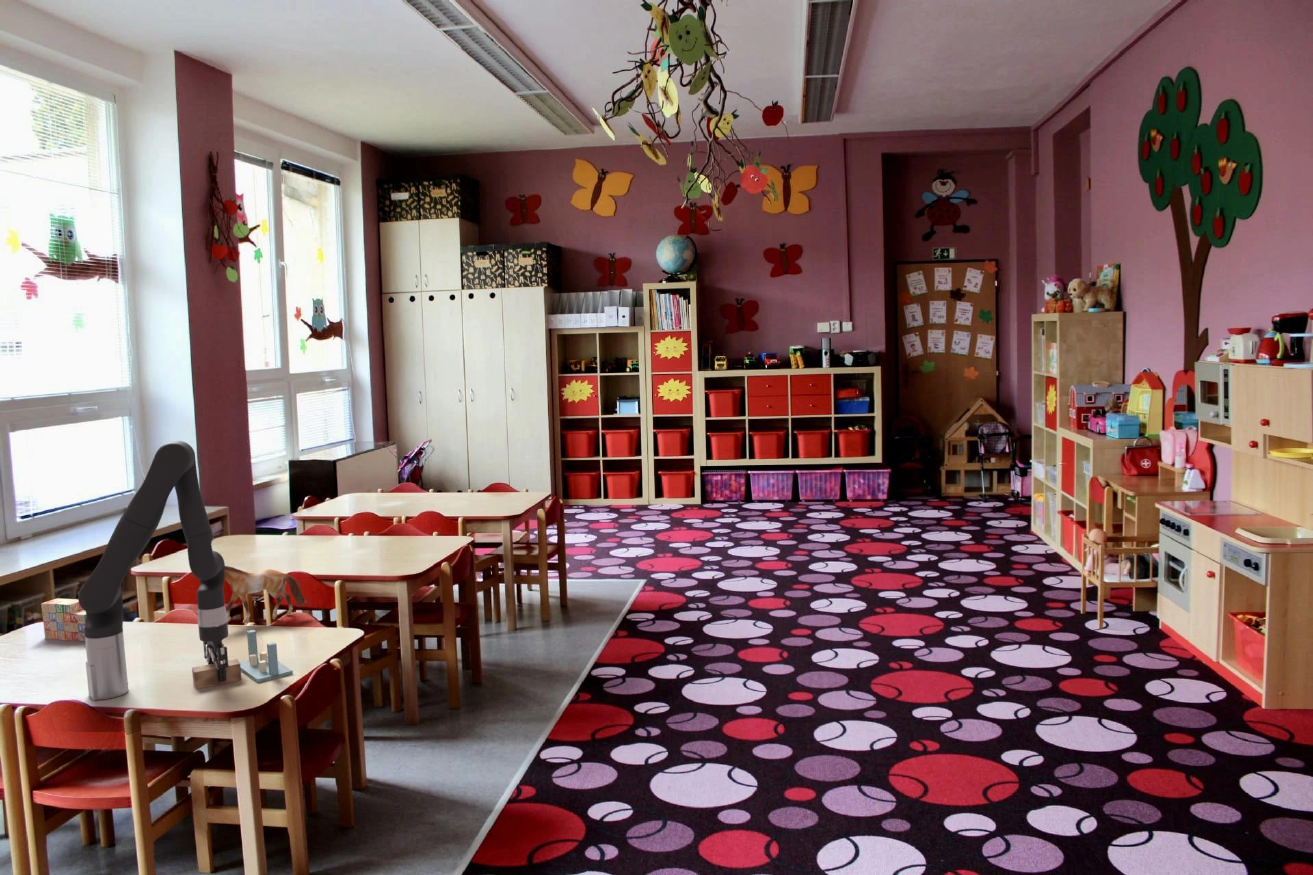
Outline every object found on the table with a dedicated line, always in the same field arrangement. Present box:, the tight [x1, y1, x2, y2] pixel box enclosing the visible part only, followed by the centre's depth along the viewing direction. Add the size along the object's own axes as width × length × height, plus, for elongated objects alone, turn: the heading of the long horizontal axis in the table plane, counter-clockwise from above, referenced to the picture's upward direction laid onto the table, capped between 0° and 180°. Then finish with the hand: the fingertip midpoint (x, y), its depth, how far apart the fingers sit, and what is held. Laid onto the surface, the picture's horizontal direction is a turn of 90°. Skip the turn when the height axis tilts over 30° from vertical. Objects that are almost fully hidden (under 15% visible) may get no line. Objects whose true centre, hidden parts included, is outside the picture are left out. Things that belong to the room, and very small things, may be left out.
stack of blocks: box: [40, 598, 86, 642], centre depth 325 cm, size 21×6×12 cm, turn 72°
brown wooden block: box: [191, 658, 242, 690], centre depth 278 cm, size 12×5×5 cm, turn 122°
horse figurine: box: [224, 565, 308, 624], centre depth 339 cm, size 31×8×21 cm, turn 104°
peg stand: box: [239, 629, 294, 683], centre depth 286 cm, size 10×19×10 cm, turn 41°
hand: (217, 677), depth 278 cm, fingers open, 7 cm apart
